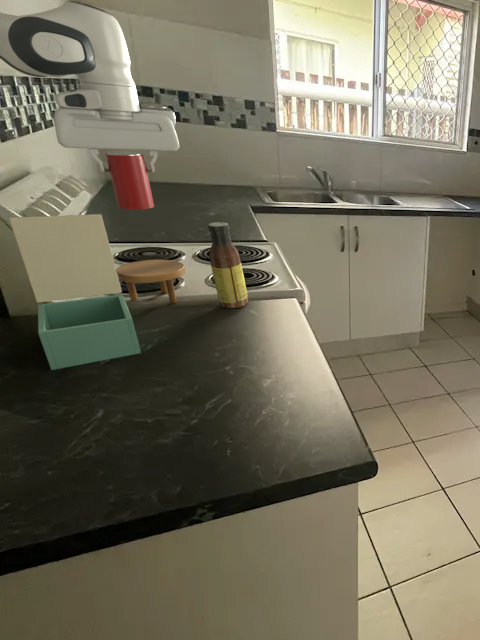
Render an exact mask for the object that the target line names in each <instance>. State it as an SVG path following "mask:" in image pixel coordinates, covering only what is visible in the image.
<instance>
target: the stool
mask: <svg viewBox="0 0 480 640" xmlns="http://www.w3.org/2000/svg"><path fill="white" fill-rule="evenodd" d="M116 272H117V275H118V279H119V281H123V282H125V283H126V287H127V291H128V295H129V299H130V301H131V302H136V301H137V302H139V297H138V293H137V288H136V284H149V283H159V287H160V288H159V289H160V292H161V294H162V293H166V294H167V295H168V300H169V304H177V303H178V300H177V295H176V291H175V287H174V282H173V281H174V279H177V278H180V277H182V276H183V275H185V273H186V268H185V265H184V263H182V262H180V261H177V260H172V259H145V260H136V261H132V262H128V263H124V264H122V265H120V266H118V267H116Z"/></svg>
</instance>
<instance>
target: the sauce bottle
mask: <svg viewBox="0 0 480 640" xmlns="http://www.w3.org/2000/svg"><path fill="white" fill-rule="evenodd" d="M207 228H208V231H209V234H210V238H211V246H210V249H209V252H208V255H209V262H210V268H211V273H212V276H213V282H214V287H215V289H216V295H217V299H218V301H219V304H220V307H222V308H224V309H239V308H243V307H245V306H247V305H248V302H249V301H248V291H247V286H246V280H245V275H244V271H243V266H242V262H241V259H240V253H239V249H238V248H236V245H234V244H233V242H232V239H231V236H230V226H229V223H228V222H220V221H215V222H210V223H208V224H207Z"/></svg>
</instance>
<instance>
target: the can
mask: <svg viewBox="0 0 480 640" xmlns="http://www.w3.org/2000/svg"><path fill="white" fill-rule="evenodd" d="M104 154H105V157H106V162H108V164H109V169H110V172H109V174H110V179H111V182H112V183H111V184H112V186H113V192H114V196H115V200H116V203H117V207H118V209H122V210H148V209H152V208H154V207H155V203H154V199H153V194H152V190H151V184H150V180H149V175H148V172H147V170H146V165H145V163H146V161H145V156H144V154H143V153H141V152H138V151H137V152H136V151H122V150H121V151H120V150H117V151H114V150H113V151H107V152H105V153H104Z"/></svg>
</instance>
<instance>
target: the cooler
mask: <svg viewBox="0 0 480 640" xmlns="http://www.w3.org/2000/svg"><path fill="white" fill-rule="evenodd" d="M37 332H38V333H37V334H38V337H39V339H40V342H41V345H42V348H43V351H44V354H45V356H46V360H47V363H48V365H49V368H50V370H51V371H53V370H60V369H65V368H70V367H75V366H81V365H85V364H91V363H96V362H97V363H98V362H102V361H106V360H112V359H118V358H123V357H128V356H132V355H138V354H139V355H140V354H141V353H142V352H141V348H140V344H139V339H138V336H137V332H136V329H135V324H134V320H133V318H132V315H131V312H130V310H129V307H128V305H127V303H126V300H125V297H124V294H122V293H121V294H112V295H106V296H105V295H104V296H99V297H98V296H96V297H90V298H89V297H88V298H82V299H72V300H66V301H65V300H64V301H58V302H48V303H41V304H38V305H37Z"/></svg>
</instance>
